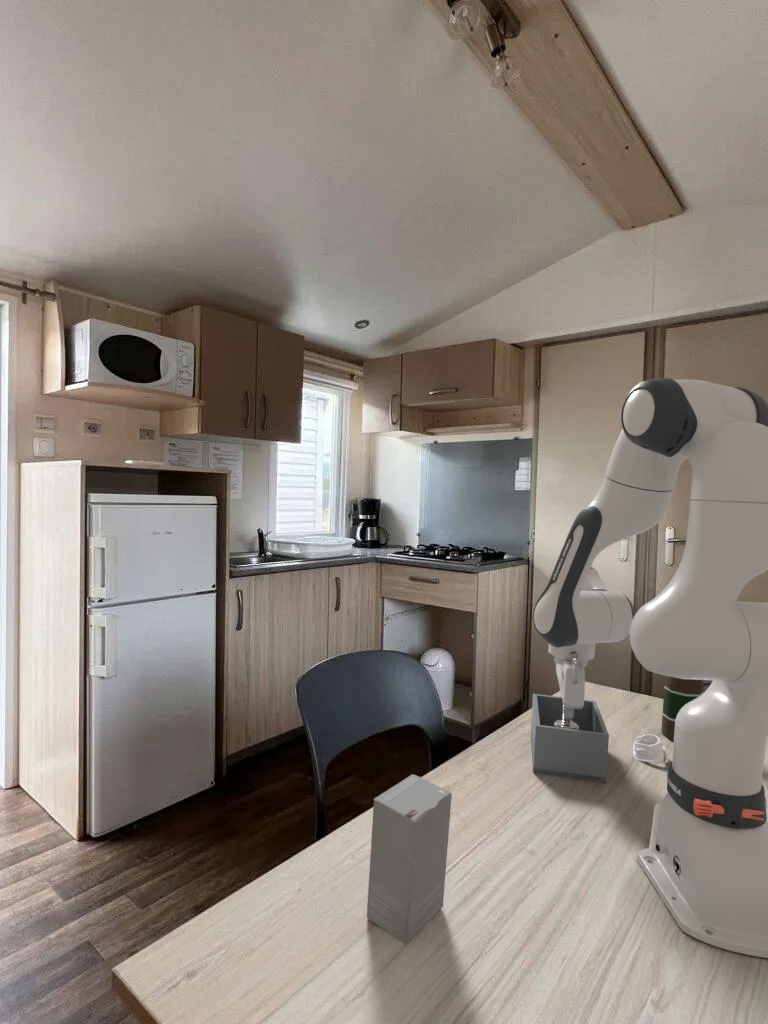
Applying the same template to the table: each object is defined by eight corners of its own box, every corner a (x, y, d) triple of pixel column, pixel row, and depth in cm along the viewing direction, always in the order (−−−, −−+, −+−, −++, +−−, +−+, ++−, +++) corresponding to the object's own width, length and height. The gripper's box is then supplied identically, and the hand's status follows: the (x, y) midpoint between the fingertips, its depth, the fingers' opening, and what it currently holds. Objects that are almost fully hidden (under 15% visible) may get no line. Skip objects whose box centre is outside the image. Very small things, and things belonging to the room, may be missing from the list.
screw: (579, 742, 116) (553, 738, 117) (577, 732, 121) (552, 729, 122) (583, 677, 115) (557, 673, 116) (581, 669, 120) (556, 666, 121)
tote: (605, 783, 109) (608, 735, 108) (533, 772, 112) (535, 726, 111) (593, 742, 126) (595, 701, 126) (530, 734, 129) (532, 693, 129)
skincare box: (404, 885, 79) (409, 769, 78) (449, 912, 74) (455, 789, 73) (362, 920, 72) (367, 793, 71) (408, 951, 68) (415, 817, 67)
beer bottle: (653, 732, 133) (660, 627, 132) (677, 728, 136) (684, 625, 135) (683, 747, 126) (691, 636, 125) (708, 742, 129) (716, 633, 128)
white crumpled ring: (672, 774, 116) (677, 751, 115) (636, 766, 117) (641, 744, 116) (661, 753, 124) (665, 731, 123) (627, 746, 125) (631, 725, 124)
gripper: (595, 662, 107) (590, 737, 108) (582, 635, 127) (578, 698, 128) (558, 659, 108) (554, 732, 109) (552, 632, 128) (548, 694, 129)
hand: (567, 713), depth 119 cm, fingers closed on screw
